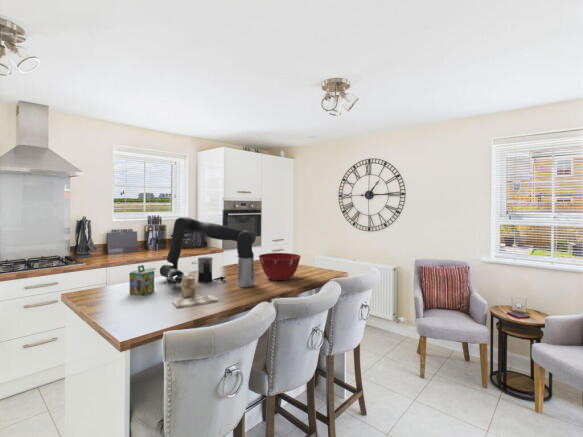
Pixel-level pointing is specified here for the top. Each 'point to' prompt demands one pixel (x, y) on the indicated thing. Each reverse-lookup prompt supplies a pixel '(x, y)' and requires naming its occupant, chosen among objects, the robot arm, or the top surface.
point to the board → (194, 301)
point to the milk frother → (206, 270)
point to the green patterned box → (141, 281)
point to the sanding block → (188, 287)
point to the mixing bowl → (279, 265)
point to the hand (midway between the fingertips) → (183, 281)
